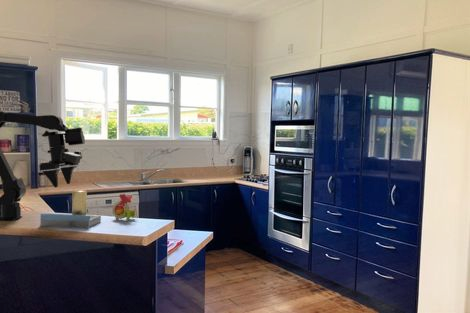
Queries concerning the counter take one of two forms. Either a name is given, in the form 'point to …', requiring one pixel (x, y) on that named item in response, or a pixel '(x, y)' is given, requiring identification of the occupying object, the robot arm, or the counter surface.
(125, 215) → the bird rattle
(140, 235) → the counter surface
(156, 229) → the counter surface
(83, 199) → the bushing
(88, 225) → the jig
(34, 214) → the counter surface
